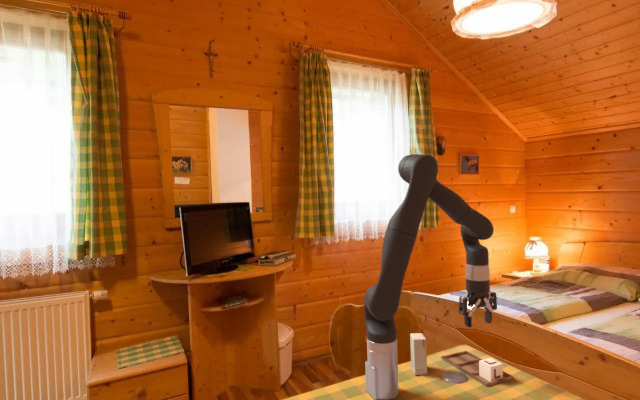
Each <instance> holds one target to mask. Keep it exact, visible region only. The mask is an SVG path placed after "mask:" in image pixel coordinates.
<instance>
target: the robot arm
mask: <svg viewBox="0 0 640 400" xmlns="http://www.w3.org/2000/svg"><path fill="white" fill-rule="evenodd" d="M397 169H398V174H399V176H400V178H401V179H402V180H403V181H404V182H406V183H407V184H408V188H407V192H406V195H405V197H404V199H403V201H402V203H401V204H400V205H399V207H398V208H397V209H396V210H395V212H394V213H393V215H392V216H391V218H390V219H389V221H388V223H387V226H386V231H385V234H384V237H383V240H382V241H383V242H382V248H381V267H380V272H379V276H378V279H377V283H376V284H373V285H371V286H370V287H368V289H367V290H365V291H366V292H365V293H364V300H363V303H364V304H363V308H364V322H365V323H364V325H365V330H366V353H367V354H366V355H367V360H365V362H364V365H365V367H364V368H365V369H364V370H365V371H364V372H365V374H364V375H365V391H366V392H367V394H368V395H369V396H370V397H372V398H373V399H374V400H393V399H395V398H396V397H397V396H398V395H399V367H398V366H399V365H398V364H399V363H398V362H399V361H398V333H397V332H398V331H397V327H396V326H397V325H396V322H395V317H394V316H395V315H396V314H397V312H398V310H399V307H400V300H401V294H402V289H403V283H404V279H405V275H406V272H407V271H408V270H407V269H408V267H409V264H410V259H411V256H412V254H413V250H414V247H415V245H416V240H417V237H418V232H419V228H420V225H421V222H422V218H423V215H424V211H425V209H426V206H427V203H428V200H431V201H432V202H433V203H434V204H435V205H436V206H437V207H439V208H440V209H441V210H442V211H443V212H444V213H445V215H447V216H448V217H449V218H450V219H451V220H452V221H453V222H454V223H456V224H457V225H460V228H459V229H460V236H461V240H462V243H463V247H464V250H465V263H466V264H465V290H466V292H467V295H466V296H463V295H460V296H459V297H458V299H459V302H458V306H459V307H458V313H459V314H460V315H463V316H464V318H463V319H464V320H463V321H464V325H465V327H467V328H469V329H470V328H472V326H473V323H472V315H473V313H474V312H475V311H476V310H477V309H480V308H483V310H485V311H484V322H485V323H487V324H491V323H492V321H493V312H494V311H496V310H498V300H497V293H496V292H494V291H491V277H490V276H491V274H490V265H489V262H490V260H489V249H488V247H486V246H484V245H482V244H481V243H480V240H481V241H484V240H489V239H490V238H491V237H492V236H493V234H494V229H495V228H494V226H493V223H492V221H490V219H489V218H488V217H486V216H485V215H483V214H482V213H481V212H479V211H478V210H475V209H474V208H473V207H472V206H470V205H469V203H467V202H466V200H465V199H464V198H462V197H461V196H460V195H459V194H458V193H456V192H455V191H453V190H452V189H450V187H447V186H445V185H444V184H442V183H441V182H439V181H438V180H437V177H438V173H439V163H438V162H437V159H436V158H435V157H434V156H432V155H430V154H424V153H423V154H415V153H413V154H409V155H408V154H407V155H405V156H403V157H402V158H401V160H400V161H399V163H398V167H397Z"/></svg>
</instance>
